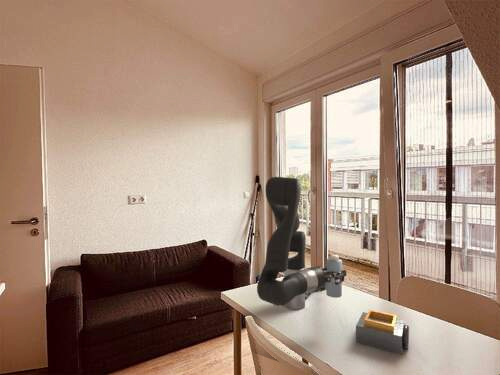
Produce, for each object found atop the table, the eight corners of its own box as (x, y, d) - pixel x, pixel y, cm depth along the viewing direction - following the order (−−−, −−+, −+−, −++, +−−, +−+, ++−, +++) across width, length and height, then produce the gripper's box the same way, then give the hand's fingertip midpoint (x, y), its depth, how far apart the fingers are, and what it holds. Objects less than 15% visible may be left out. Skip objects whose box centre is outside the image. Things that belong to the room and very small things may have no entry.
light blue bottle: (324, 295, 109) (324, 256, 109) (328, 290, 114) (329, 253, 114) (339, 298, 106) (339, 258, 106) (343, 293, 111) (343, 255, 111)
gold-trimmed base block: (355, 342, 101) (356, 319, 101) (363, 327, 112) (363, 306, 111) (406, 356, 93) (407, 331, 93) (409, 339, 104) (409, 316, 103)
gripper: (325, 274, 95) (355, 265, 106) (293, 264, 107) (322, 256, 117) (325, 297, 96) (355, 285, 106) (293, 285, 107) (322, 275, 117)
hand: (338, 270), depth 111 cm, fingers closed on light blue bottle, 5 cm apart
